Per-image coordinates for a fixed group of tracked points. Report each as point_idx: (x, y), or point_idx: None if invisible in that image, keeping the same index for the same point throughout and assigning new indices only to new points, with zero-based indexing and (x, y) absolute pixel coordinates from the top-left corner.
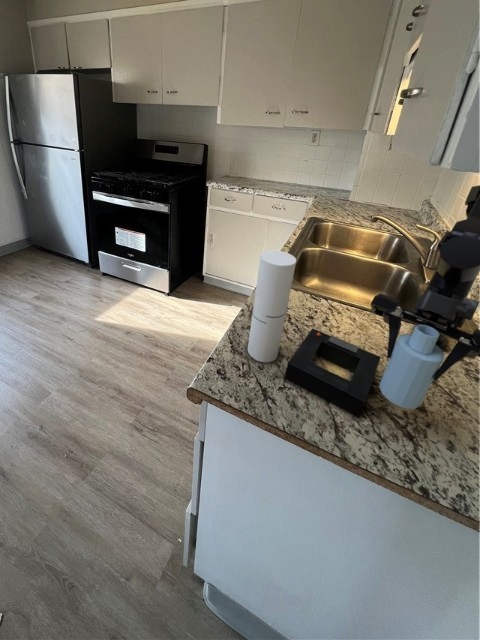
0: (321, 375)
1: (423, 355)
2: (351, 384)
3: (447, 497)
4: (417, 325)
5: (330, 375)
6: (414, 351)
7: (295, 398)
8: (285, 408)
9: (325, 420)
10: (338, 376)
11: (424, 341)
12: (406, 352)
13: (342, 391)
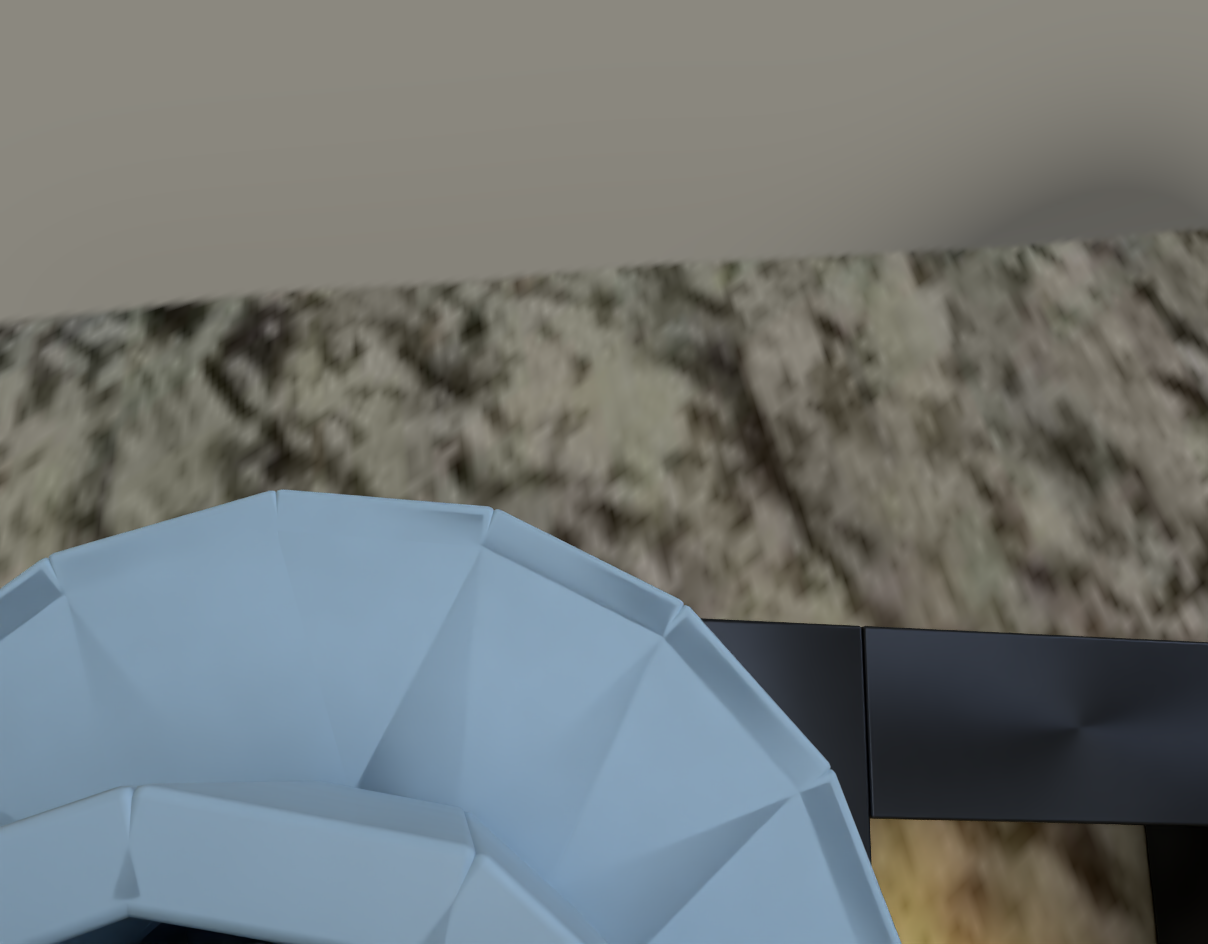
0: (1117, 695)
1: (236, 703)
2: (849, 768)
3: (30, 351)
4: None
5: (1052, 759)
6: (461, 736)
7: (1092, 523)
8: (1100, 389)
9: (842, 462)
10: (987, 801)
11: (261, 783)
12: (633, 579)
13: (885, 627)
